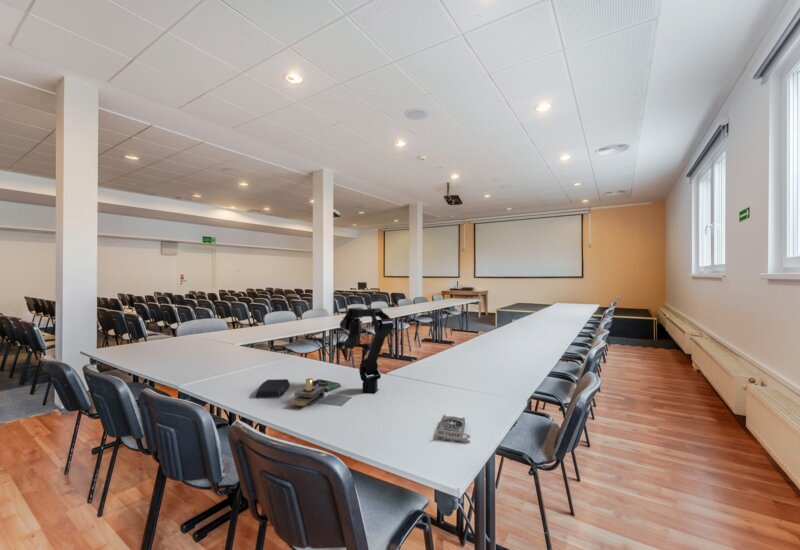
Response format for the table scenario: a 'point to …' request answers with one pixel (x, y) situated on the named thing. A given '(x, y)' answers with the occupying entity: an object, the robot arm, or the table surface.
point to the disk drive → (326, 385)
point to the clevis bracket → (308, 396)
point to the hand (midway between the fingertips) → (354, 361)
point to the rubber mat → (335, 400)
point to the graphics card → (452, 429)
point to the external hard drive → (272, 388)
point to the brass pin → (309, 384)
